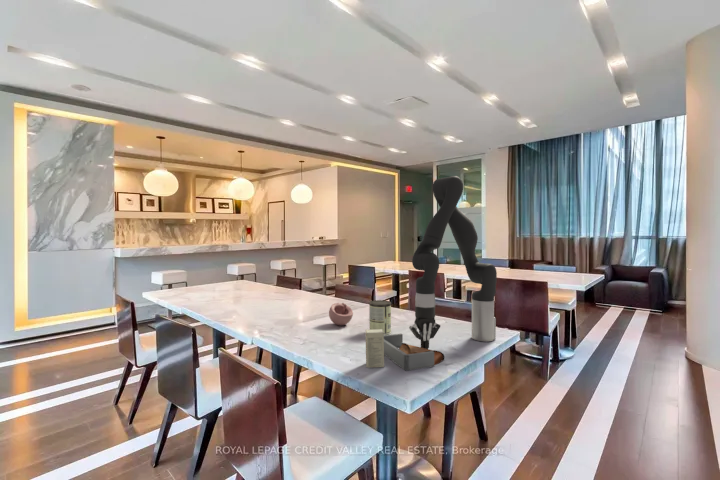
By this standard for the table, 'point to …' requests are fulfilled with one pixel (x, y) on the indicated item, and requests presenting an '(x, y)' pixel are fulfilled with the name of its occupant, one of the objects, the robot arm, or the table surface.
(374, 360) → the skincare box
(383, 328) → the coffee can
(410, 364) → the gray u-shaped bracket
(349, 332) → the table surface
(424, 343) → the robot arm
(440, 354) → the sunglasses case
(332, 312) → the mortar and pestle
